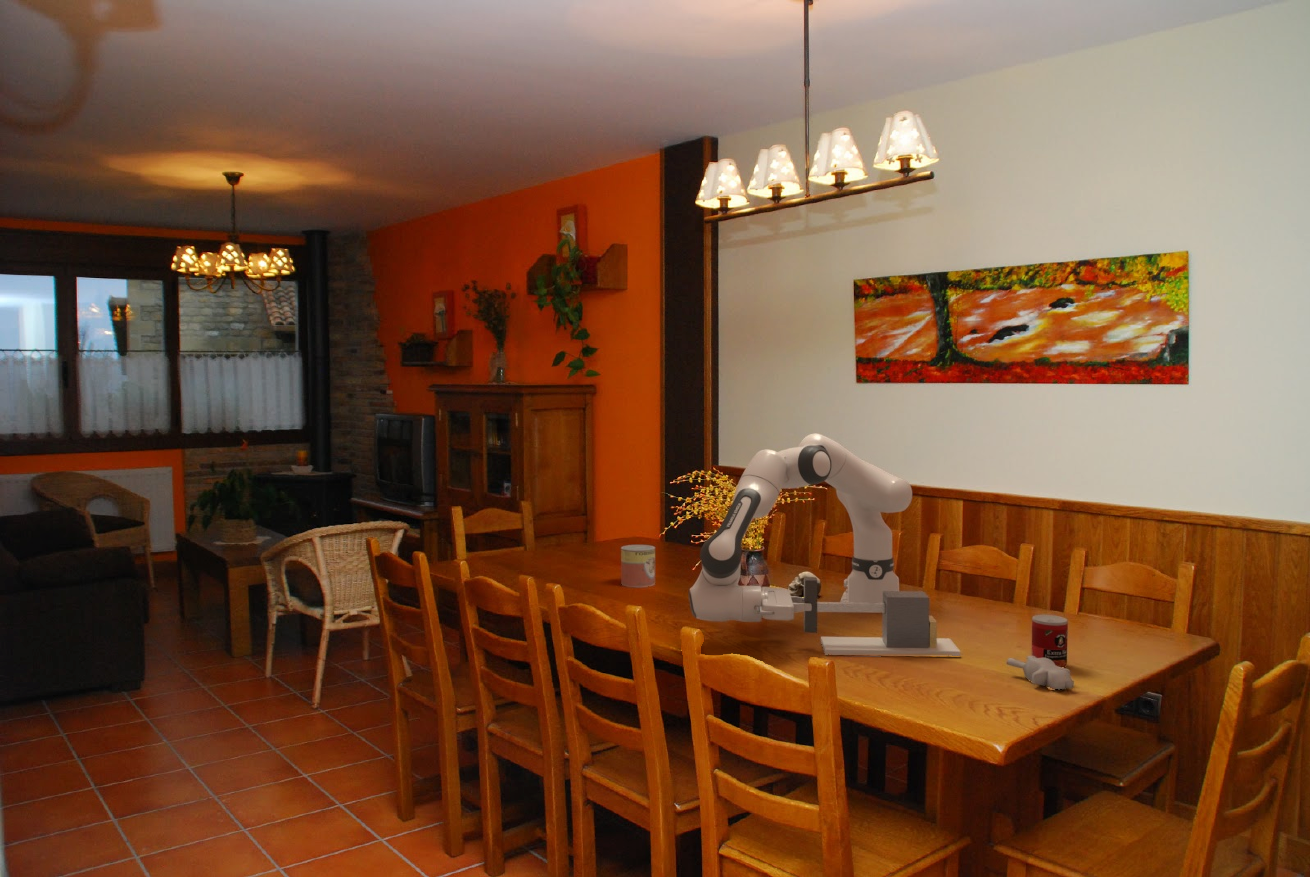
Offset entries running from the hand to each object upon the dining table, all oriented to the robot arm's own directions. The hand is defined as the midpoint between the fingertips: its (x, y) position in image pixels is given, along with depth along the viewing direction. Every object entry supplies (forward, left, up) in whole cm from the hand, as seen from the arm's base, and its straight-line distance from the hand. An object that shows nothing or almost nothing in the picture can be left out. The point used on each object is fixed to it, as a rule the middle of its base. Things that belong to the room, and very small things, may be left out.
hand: (810, 604), depth 244 cm
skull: (-60, +3, -12) cm, 61 cm away
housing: (0, +23, -11) cm, 26 cm away
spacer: (0, +29, -10) cm, 31 cm away
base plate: (0, +19, -11) cm, 22 cm away
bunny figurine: (+24, +48, -12) cm, 55 cm away
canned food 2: (+11, +54, -11) cm, 56 cm away
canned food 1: (-76, -50, -11) cm, 92 cm away
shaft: (0, +12, -7) cm, 14 cm away
